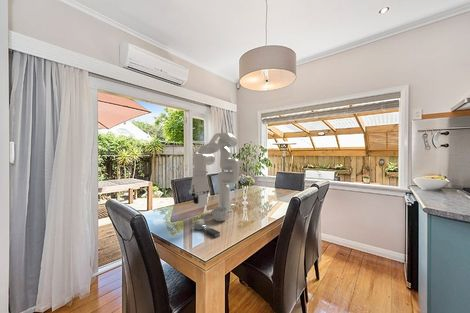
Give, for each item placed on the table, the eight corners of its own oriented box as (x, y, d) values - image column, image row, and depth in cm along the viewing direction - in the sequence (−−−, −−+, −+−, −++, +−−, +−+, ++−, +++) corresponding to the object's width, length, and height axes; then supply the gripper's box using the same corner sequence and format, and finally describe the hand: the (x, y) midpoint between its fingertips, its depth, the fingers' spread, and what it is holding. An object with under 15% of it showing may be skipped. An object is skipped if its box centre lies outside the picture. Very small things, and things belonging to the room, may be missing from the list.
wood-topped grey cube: (201, 203, 131) (201, 192, 131) (207, 204, 127) (207, 193, 127) (193, 204, 127) (193, 193, 127) (198, 206, 123) (198, 195, 123)
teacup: (223, 223, 137) (223, 211, 136) (209, 221, 140) (209, 210, 140) (231, 217, 150) (231, 206, 149) (217, 215, 153) (217, 205, 153)
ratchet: (222, 235, 118) (222, 225, 118) (211, 239, 113) (211, 229, 112) (202, 225, 133) (202, 217, 133) (191, 228, 128) (191, 219, 128)
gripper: (208, 172, 135) (208, 199, 136) (184, 174, 124) (184, 203, 124) (215, 173, 130) (215, 201, 130) (191, 175, 118) (191, 206, 118)
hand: (200, 202), depth 127 cm, fingers closed on wood-topped grey cube, 6 cm apart
